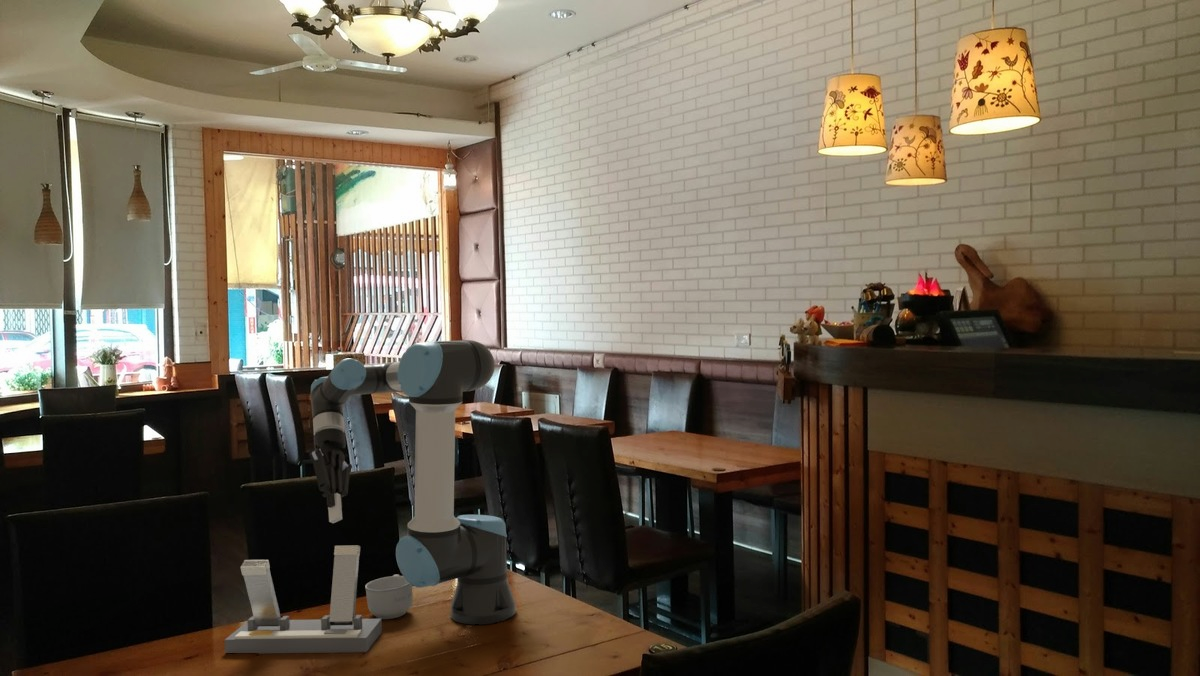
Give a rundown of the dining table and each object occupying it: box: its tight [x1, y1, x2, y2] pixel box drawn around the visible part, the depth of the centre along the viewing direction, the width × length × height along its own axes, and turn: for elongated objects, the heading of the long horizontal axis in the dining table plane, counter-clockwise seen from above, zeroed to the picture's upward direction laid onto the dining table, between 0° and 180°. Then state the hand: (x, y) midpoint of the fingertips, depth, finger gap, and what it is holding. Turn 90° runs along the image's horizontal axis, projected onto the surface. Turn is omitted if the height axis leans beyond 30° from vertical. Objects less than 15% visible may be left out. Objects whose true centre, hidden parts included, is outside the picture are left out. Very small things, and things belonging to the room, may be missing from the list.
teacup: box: [364, 574, 414, 620], centre depth 212 cm, size 14×11×8 cm
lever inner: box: [329, 544, 361, 626], centre depth 195 cm, size 5×2×17 cm, turn 89°
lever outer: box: [240, 559, 282, 627], centre depth 190 cm, size 5×2×17 cm, turn 89°
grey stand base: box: [224, 614, 383, 654], centre depth 193 cm, size 30×12×6 cm, turn 89°
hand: (335, 520), depth 210 cm, fingers closed
